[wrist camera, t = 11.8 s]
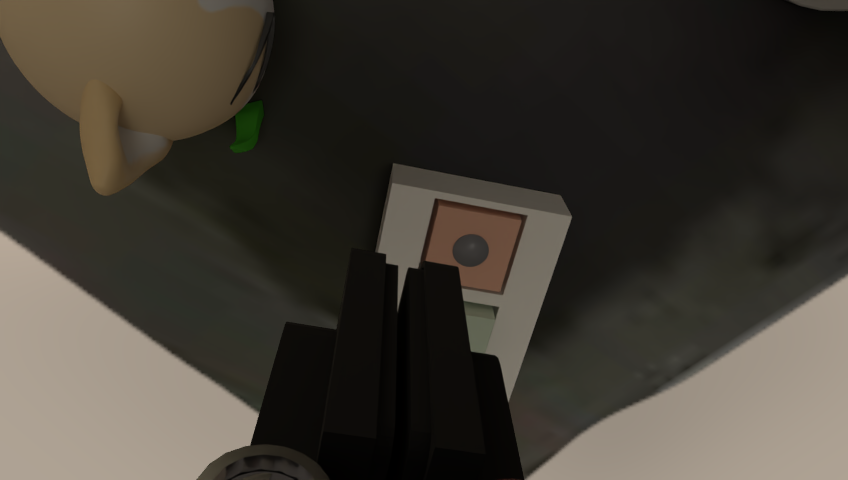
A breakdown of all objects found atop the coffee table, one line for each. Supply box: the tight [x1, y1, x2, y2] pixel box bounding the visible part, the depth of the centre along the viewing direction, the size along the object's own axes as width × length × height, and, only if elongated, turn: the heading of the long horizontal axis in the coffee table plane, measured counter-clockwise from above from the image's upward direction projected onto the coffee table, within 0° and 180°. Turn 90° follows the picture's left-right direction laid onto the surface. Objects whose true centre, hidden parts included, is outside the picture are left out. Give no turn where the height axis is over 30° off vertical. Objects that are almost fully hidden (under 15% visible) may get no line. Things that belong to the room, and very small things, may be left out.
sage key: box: [464, 301, 495, 354], centre depth 40 cm, size 5×5×2 cm
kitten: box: [0, 0, 275, 196], centre depth 27 cm, size 15×10×15 cm
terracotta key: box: [421, 198, 522, 292], centre depth 38 cm, size 5×5×2 cm
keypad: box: [375, 163, 572, 402], centre depth 41 cm, size 10×18×3 cm, turn 168°
